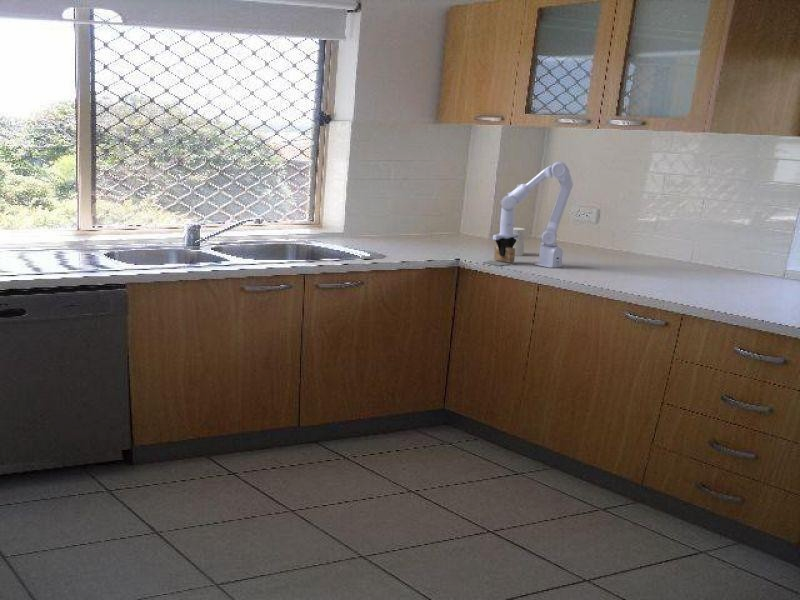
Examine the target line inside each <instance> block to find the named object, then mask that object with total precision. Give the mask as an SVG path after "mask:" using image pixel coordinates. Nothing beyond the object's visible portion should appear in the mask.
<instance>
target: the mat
mask: <svg viewBox="0 0 800 600" xmlns="http://www.w3.org/2000/svg"><path fill="white" fill-rule="evenodd" d="M481 263H482V264H487V265H492V266H497V267H504V265H506V266H511V265H510V264H514V265H518V262H515V261H514V262H511V263H509V262H503V261H498V260H494V259H493V260H487V261H482V262H481Z"/></svg>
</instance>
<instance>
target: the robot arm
mask: <svg viewBox="0 0 800 600" xmlns="http://www.w3.org/2000/svg"><path fill="white" fill-rule="evenodd" d="M553 177H554V178H556V179H557V182H558V183H559V184H560V188H559V192H558V193H557V197H556V200H555V203H554V206H553V208H552V211H551V214H550V217H549V220H548V223H547V225H546V228H545V229H543V231H542V233H541V236H540V237H541V242H540V243H539V252H538V253H539V256H538V262H534V265H535V266H540V267H545V268H550V269H552V268H553V269H554V268H559V267H560V268H561V267H564V265H563V249H562V247H560V246H558V243H557V236H558V235H557V232H558V229H559V226H560V224H561V219H562V217H563V215H564V211H565V208H566V206H567V203H568V199H569V197H570V195H571V191H572V189H573V185H574V184H573V179H572V176H571V173H570V169H569V167H568V166H567V165H566V163H565V162H564V161H560V160H557V161H555V162H554V163H553V164H552V165H549V166H547V167H545V168H544V169H542V170H541V171H540V172H539V173H538V174H536V175H535V176H534V177H533V178H531V179H530V180H529V181H528V182H527V183H521V184H519V183H518V184H517V185H516V187H515V189H513V190H512V191H510V192H507V195H505V196H504V197H503V198H502V199H501V201H500V204H501V210H500V211H501V212H500V223H499V233H497V234H493V235H492V240H495V244H496V246H498V248H499V253H500V256H504V255H505V249H506V247H511V248H513V246H514V244H515V243H516V239H514V238H519V233H513V228H515V227H514V225H515V224H514V223H515V206H516V205H517V204H519V203H520V202H522V201H523V200H525V199H526V198H527V197H528V196H530V195H531V190H533V189H534V188H535V187H537V186H538V185H539V184H541V183H542V182H543V181H544V180H545V179H551V178H552V179H553Z"/></svg>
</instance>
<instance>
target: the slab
mask: <svg viewBox="0 0 800 600" xmlns="http://www.w3.org/2000/svg"><path fill="white" fill-rule="evenodd" d="M493 255H494V258H493V261H494V260H498V261H503V262H509V263H511V262H514V263H515V257H516V256H515V248H511V247H506V249H505V255H504V256H500V253H499V248H498V245H494V254H493Z"/></svg>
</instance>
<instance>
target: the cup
mask: <svg viewBox="0 0 800 600" xmlns="http://www.w3.org/2000/svg"><path fill="white" fill-rule="evenodd" d="M513 233H519V238H514V239H516V243H515V244H514V246H513V248H515V257H522V255H523V256H524V250H525V235H526V234H525V233H526V228H524V227H523V228H522V227H513Z"/></svg>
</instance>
